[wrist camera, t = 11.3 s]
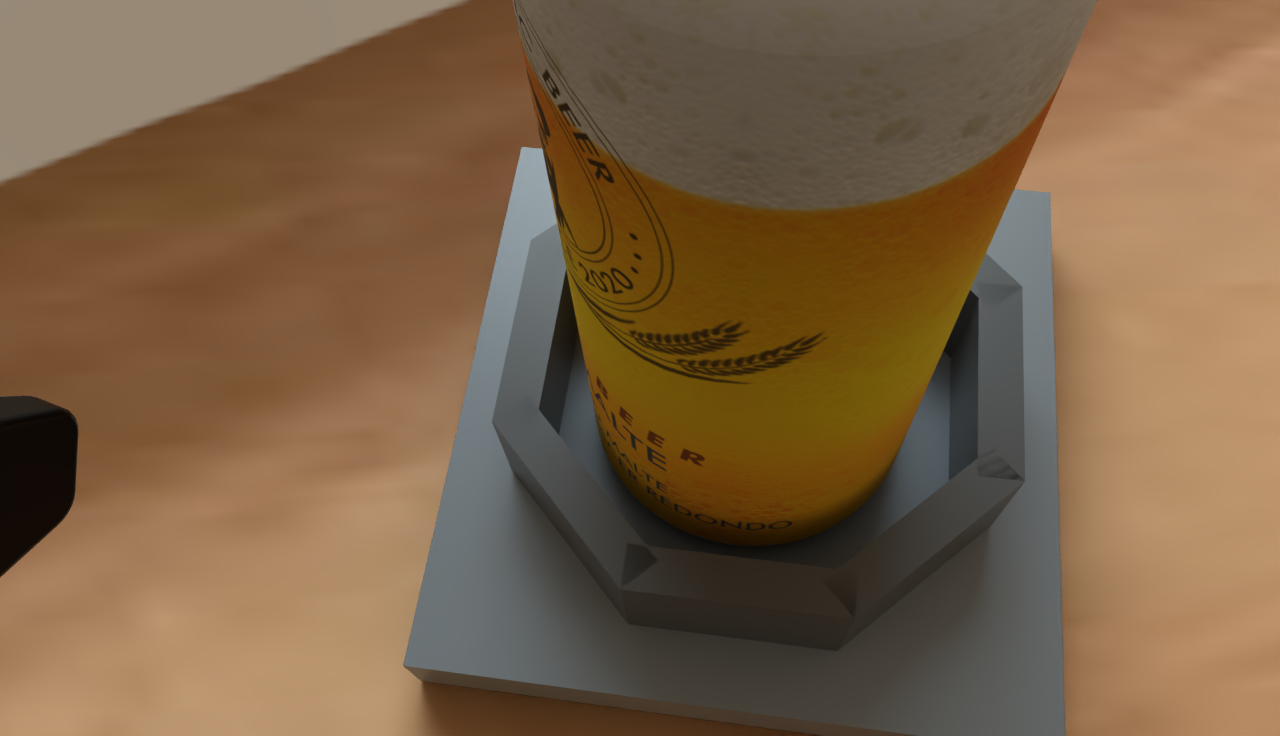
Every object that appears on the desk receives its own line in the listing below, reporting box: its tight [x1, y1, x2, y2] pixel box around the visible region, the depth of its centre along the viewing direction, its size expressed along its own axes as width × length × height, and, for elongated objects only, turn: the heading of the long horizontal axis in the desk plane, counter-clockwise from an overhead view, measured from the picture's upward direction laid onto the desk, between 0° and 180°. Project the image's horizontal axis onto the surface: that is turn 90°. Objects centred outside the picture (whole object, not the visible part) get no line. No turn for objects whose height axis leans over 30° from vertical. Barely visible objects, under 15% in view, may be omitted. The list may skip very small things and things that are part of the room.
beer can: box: [513, 0, 1097, 546], centre depth 16 cm, size 6×6×15 cm
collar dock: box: [403, 147, 1065, 736], centre depth 22 cm, size 12×12×4 cm
